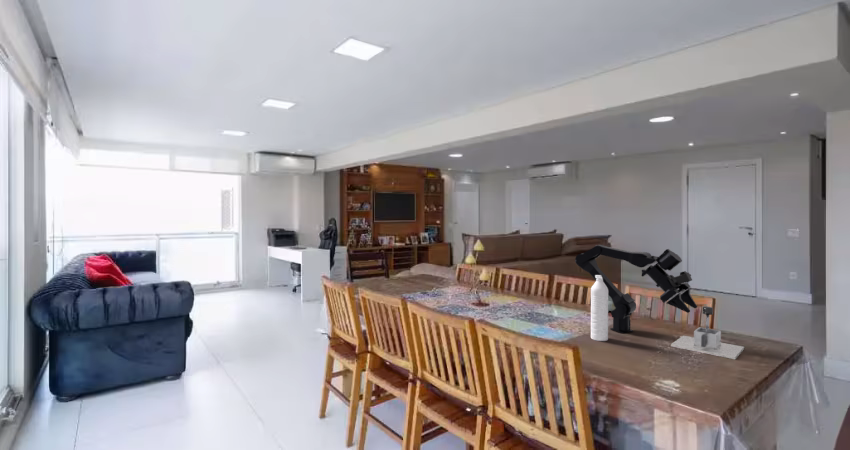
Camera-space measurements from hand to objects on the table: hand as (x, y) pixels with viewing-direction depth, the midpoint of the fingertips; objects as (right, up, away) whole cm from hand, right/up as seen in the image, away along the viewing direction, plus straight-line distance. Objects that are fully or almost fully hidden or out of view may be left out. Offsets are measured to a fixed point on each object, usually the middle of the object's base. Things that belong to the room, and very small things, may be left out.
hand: (692, 309), depth 163 cm
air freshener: (-9, -11, +55) cm, 57 cm away
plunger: (+3, -9, -3) cm, 10 cm away
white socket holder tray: (+3, -14, -3) cm, 14 cm away
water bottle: (-32, -14, +10) cm, 36 cm away
